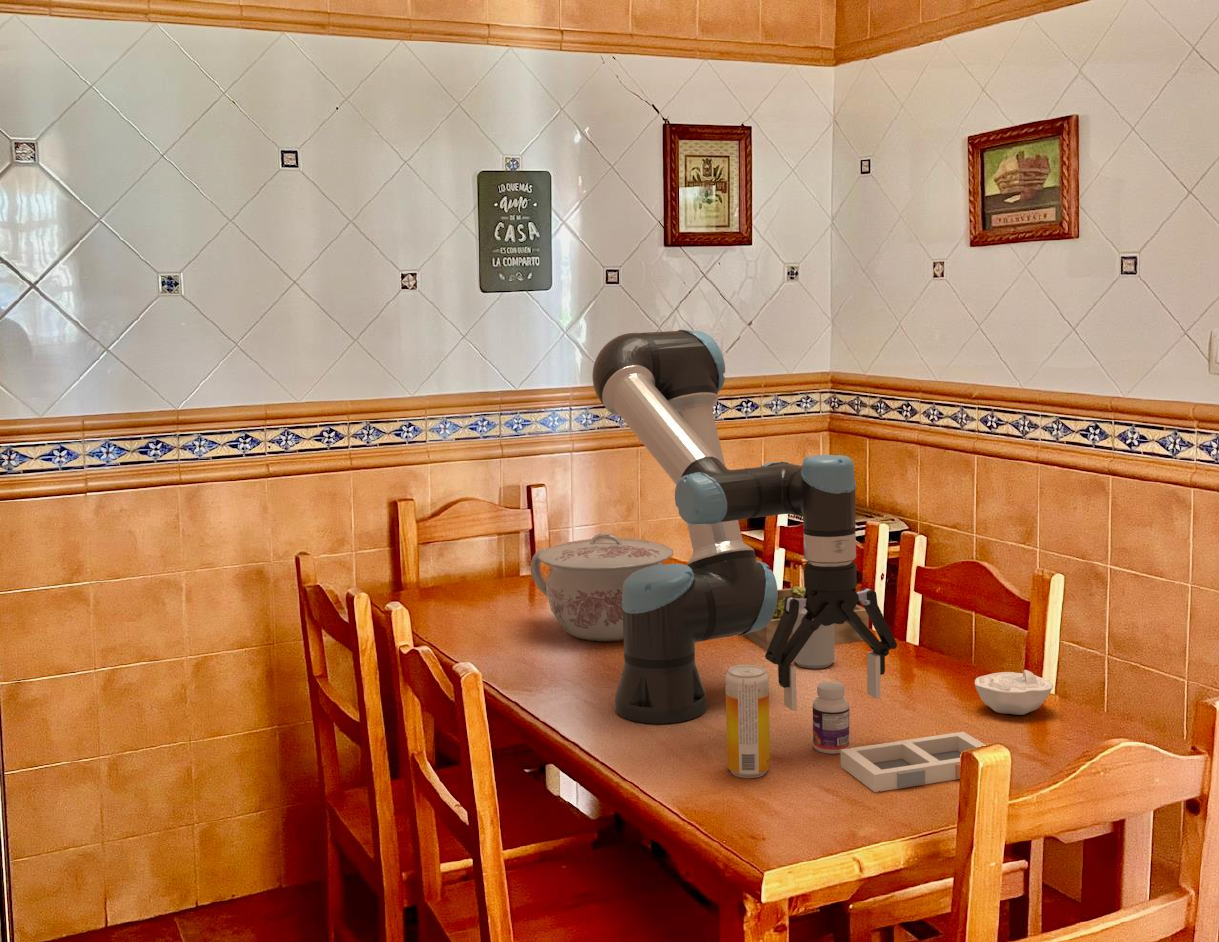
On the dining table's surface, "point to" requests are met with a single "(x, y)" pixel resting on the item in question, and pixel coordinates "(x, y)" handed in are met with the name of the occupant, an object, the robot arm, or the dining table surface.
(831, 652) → the can
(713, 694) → the dining table surface
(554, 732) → the dining table surface
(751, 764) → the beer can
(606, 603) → the chamber pot
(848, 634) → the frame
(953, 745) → the socket block
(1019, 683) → the cell model
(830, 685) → the pill bottle
